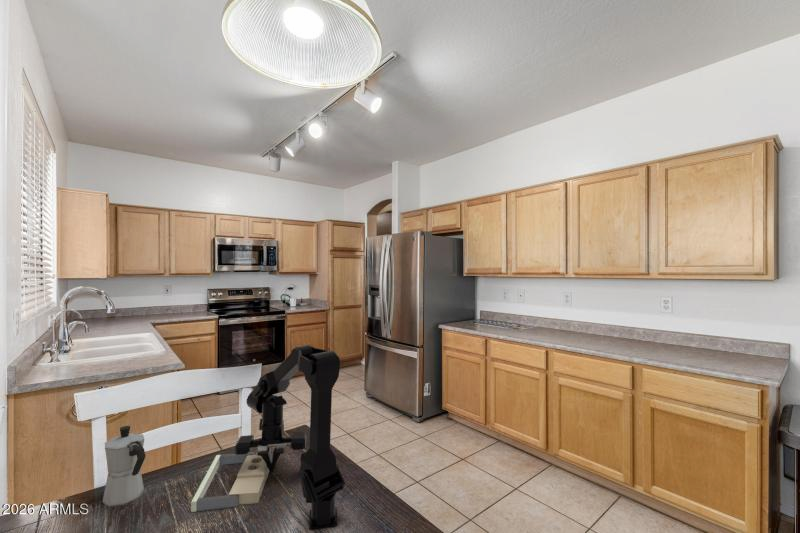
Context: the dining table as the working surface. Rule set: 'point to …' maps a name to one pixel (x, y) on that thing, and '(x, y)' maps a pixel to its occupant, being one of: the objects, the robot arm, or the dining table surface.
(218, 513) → the dining table surface
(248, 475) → the electrical outlet
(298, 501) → the dining table surface
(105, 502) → the coffee maker
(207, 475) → the bracket rack
